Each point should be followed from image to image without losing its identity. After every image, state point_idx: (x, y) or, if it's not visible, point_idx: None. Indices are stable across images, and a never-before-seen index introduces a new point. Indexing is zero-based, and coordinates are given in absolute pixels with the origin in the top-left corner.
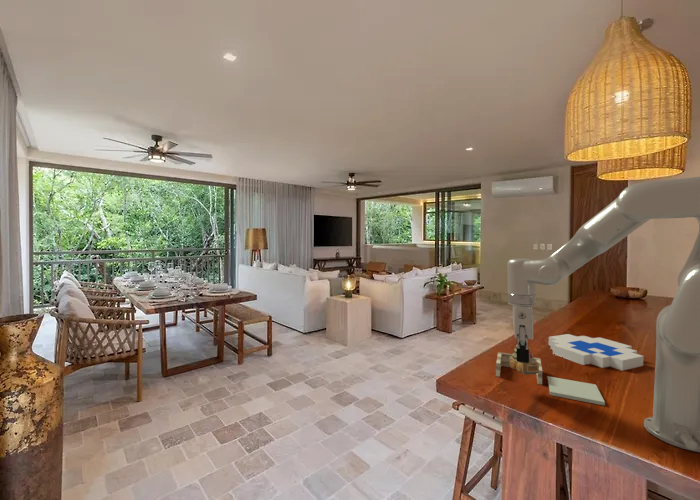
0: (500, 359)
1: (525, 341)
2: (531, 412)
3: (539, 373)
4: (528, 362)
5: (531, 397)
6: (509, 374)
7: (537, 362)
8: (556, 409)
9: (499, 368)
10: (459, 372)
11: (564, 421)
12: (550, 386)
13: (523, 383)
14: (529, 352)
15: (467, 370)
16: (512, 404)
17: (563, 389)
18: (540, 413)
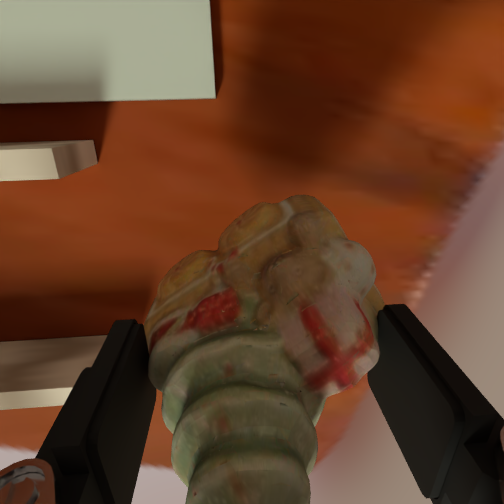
0: (31, 391)
1: (88, 471)
2: (447, 190)
3: (68, 164)
4: (401, 306)
5: (294, 192)
6: (63, 299)
7: (316, 228)
8: (380, 77)
9: None
10: None
11: (492, 47)
12: (133, 92)
13: (140, 232)
14: (348, 354)
15: (147, 442)
16: (399, 263)
17: (130, 8)
18: (445, 154)
